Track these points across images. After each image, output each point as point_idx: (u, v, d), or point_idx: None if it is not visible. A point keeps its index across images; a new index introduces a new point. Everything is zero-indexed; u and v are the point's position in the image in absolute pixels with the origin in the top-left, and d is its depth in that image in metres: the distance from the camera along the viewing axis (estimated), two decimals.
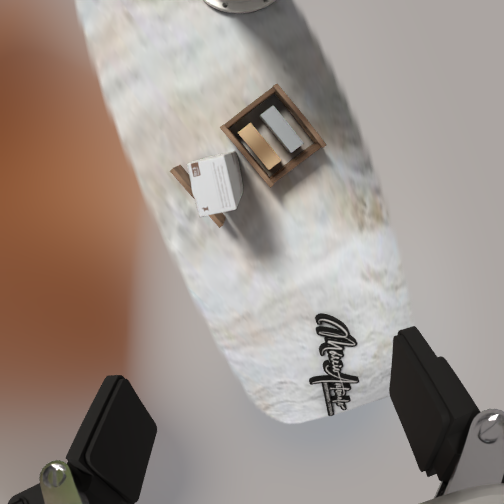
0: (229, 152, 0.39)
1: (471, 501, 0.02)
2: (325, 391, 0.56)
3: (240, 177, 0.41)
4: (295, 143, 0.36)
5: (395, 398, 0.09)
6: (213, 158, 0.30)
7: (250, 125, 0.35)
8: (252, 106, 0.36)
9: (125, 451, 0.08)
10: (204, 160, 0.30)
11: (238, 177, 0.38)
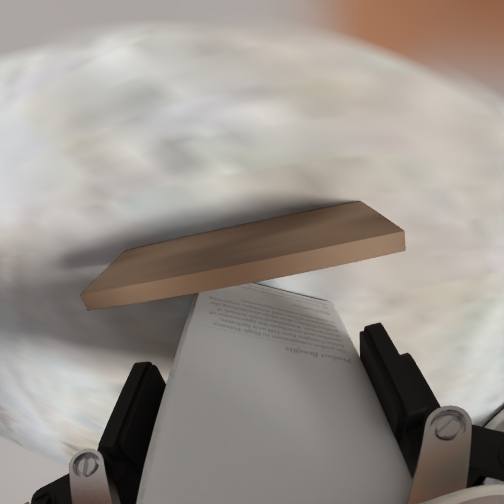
0: None
1: (471, 501, 0.02)
2: None
3: None
4: None
5: None
6: None
7: None
8: None
9: None
10: None
11: None
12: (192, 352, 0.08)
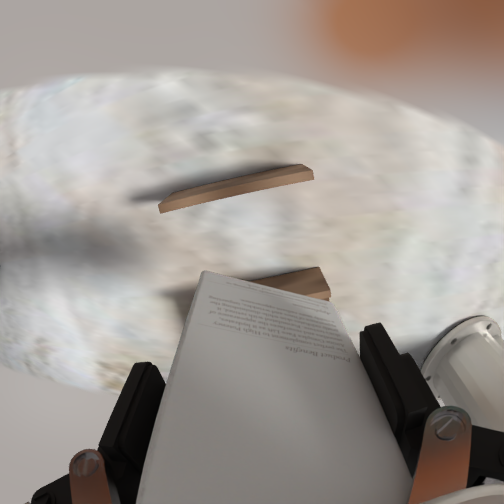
0: None
1: (471, 501, 0.02)
2: None
3: None
4: None
5: None
6: None
7: None
8: None
9: None
10: None
11: None
12: (192, 351, 0.08)
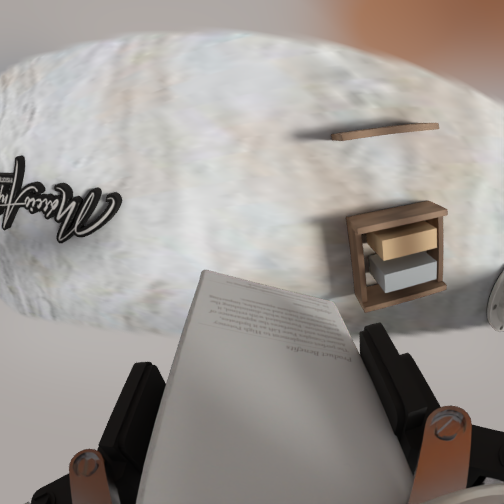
0: None
1: (471, 501, 0.02)
2: None
3: None
4: (390, 284, 0.28)
5: None
6: None
7: (434, 246, 0.26)
8: (440, 251, 0.28)
9: None
10: None
11: None
12: (192, 351, 0.08)
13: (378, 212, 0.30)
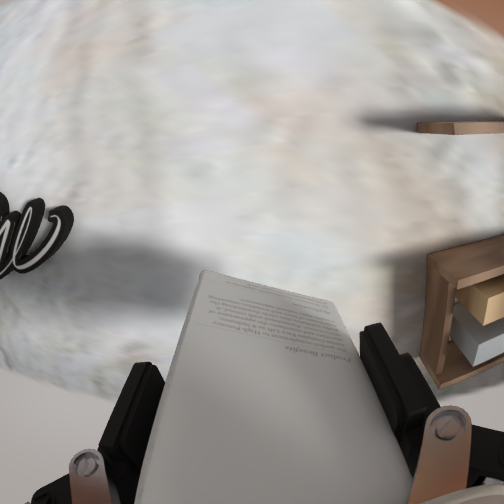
0: None
1: (471, 501, 0.02)
2: None
3: None
4: (482, 355, 0.15)
5: None
6: None
7: None
8: None
9: None
10: None
11: None
12: (191, 351, 0.08)
13: (469, 248, 0.17)
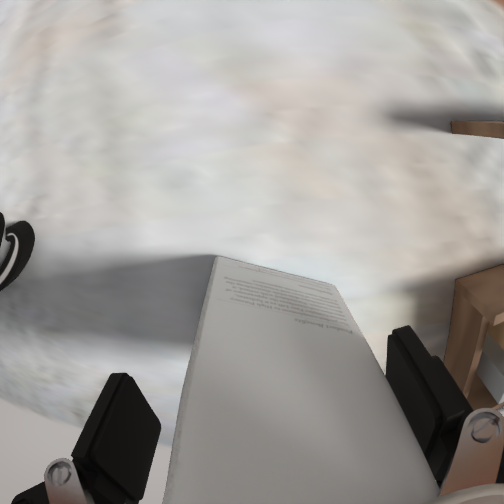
0: None
1: (471, 501, 0.02)
2: None
3: None
4: None
5: None
6: None
7: None
8: None
9: (130, 449, 0.08)
10: None
11: None
12: (214, 321, 0.09)
13: (502, 271, 0.14)
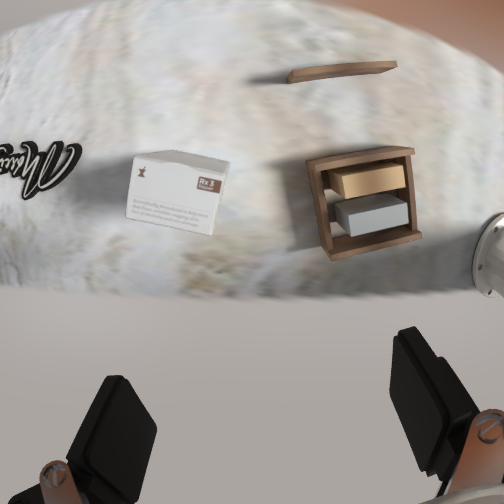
0: None
1: (471, 501, 0.02)
2: None
3: None
4: (356, 226, 0.27)
5: (395, 398, 0.09)
6: (213, 219, 0.19)
7: (402, 185, 0.25)
8: (411, 196, 0.27)
9: (125, 451, 0.08)
10: (216, 204, 0.19)
11: None
12: (163, 152, 0.23)
13: (340, 155, 0.28)
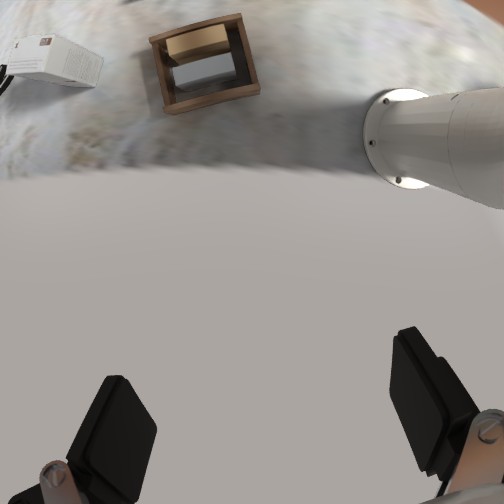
0: (88, 80, 0.28)
1: (471, 501, 0.02)
2: None
3: None
4: (180, 76, 0.26)
5: (395, 398, 0.09)
6: (44, 61, 0.19)
7: (224, 38, 0.25)
8: (247, 54, 0.27)
9: (125, 451, 0.08)
10: (47, 51, 0.19)
11: (57, 82, 0.26)
12: None
13: None
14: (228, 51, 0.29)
